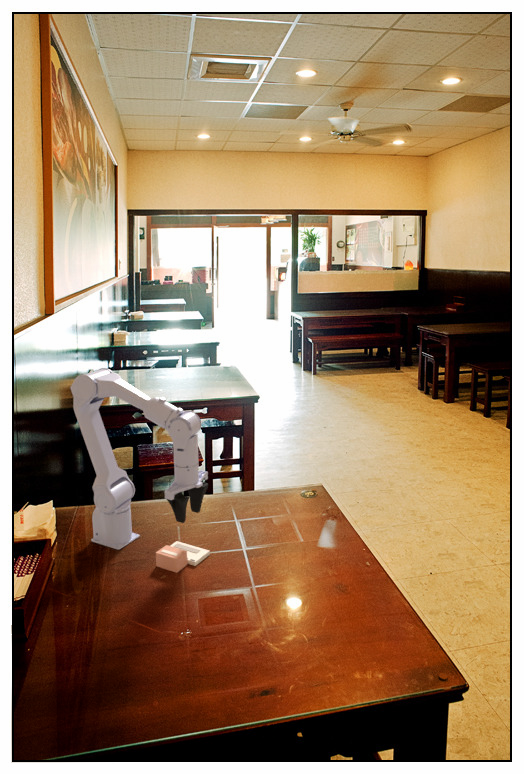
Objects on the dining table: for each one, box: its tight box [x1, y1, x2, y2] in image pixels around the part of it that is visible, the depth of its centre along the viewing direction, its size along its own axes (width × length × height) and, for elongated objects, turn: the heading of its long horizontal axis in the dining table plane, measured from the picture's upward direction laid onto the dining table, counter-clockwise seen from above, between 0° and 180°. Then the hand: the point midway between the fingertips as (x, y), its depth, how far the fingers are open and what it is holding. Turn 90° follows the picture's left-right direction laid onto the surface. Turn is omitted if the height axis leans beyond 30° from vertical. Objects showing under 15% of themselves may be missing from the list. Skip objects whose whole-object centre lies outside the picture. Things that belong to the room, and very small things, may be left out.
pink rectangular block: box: [155, 544, 188, 574], centre depth 130 cm, size 6×4×4 cm, turn 61°
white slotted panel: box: [169, 540, 211, 567], centre depth 135 cm, size 10×6×1 cm, turn 61°
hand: (188, 516), depth 135 cm, fingers open, 5 cm apart
